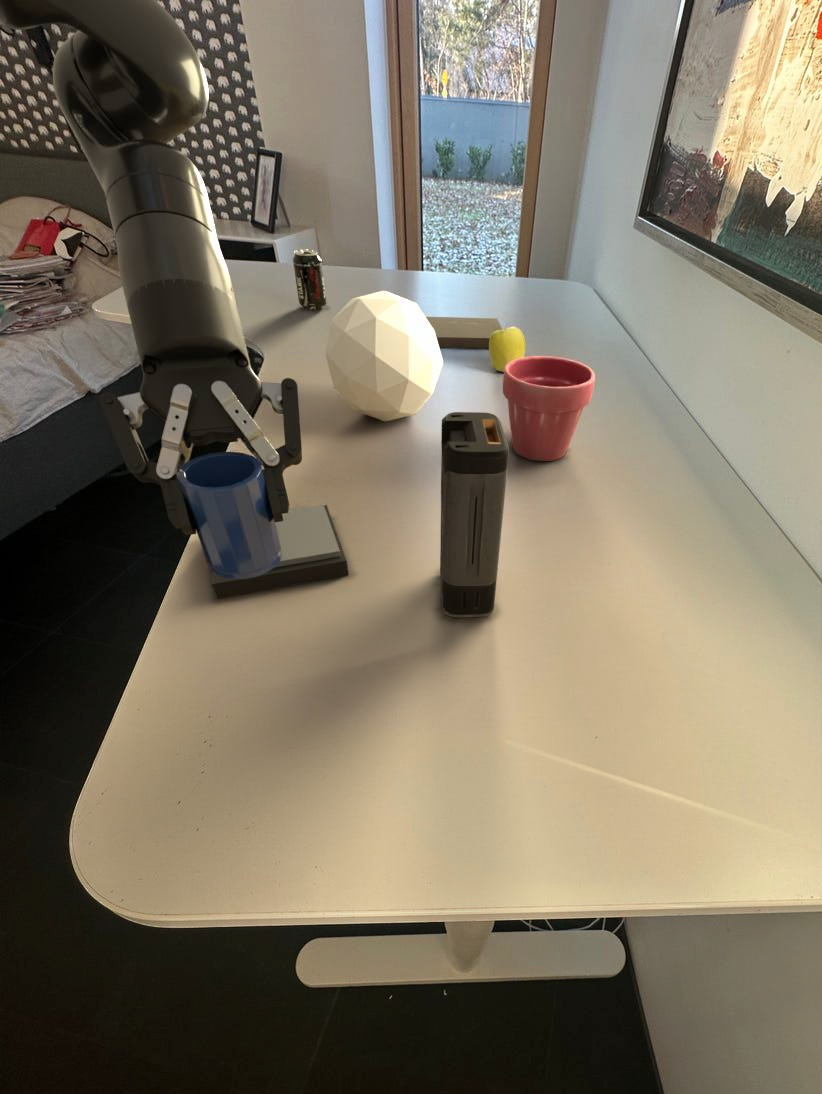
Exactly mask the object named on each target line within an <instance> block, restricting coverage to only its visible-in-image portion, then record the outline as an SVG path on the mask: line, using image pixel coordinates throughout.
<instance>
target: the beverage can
mask: <svg viewBox="0 0 822 1094" xmlns="http://www.w3.org/2000/svg"><path fill="white" fill-rule="evenodd" d="M293 252H294V253H293V254H294V256H293V258H292V264H293V271H294V278H295V284H296V285H295V286H296V291H297V298H298V303H299V305H300V306H301V307H302V308H304V309H305V310H310V311H318V310H322V309H323V308H325V307H326V305H327V295H326V287H325V280H324V272H323V271H324V270H323V263H322V262H323V261H322V259H321V257H320V256H319V251H316V250H314V249H296V250H294V251H293Z"/></svg>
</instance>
